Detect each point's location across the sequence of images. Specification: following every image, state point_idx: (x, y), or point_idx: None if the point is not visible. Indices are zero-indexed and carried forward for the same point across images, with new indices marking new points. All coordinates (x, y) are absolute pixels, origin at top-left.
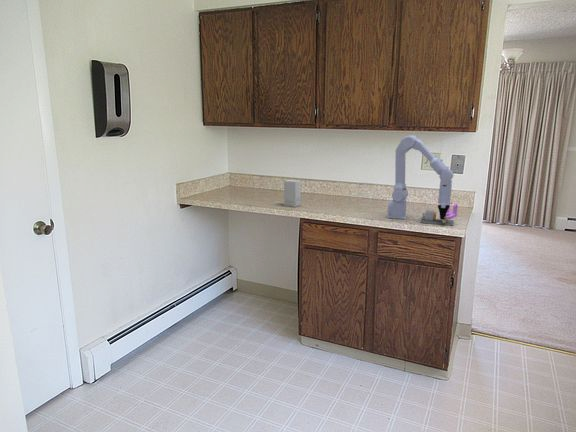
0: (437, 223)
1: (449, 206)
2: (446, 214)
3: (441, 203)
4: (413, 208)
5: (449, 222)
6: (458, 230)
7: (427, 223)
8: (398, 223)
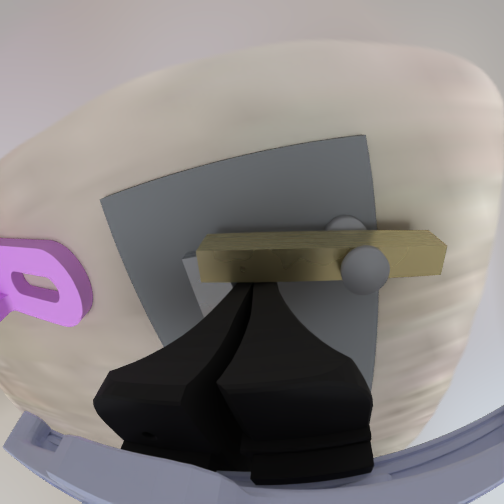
0: (364, 299)
1: (156, 388)
2: (26, 295)
3: (483, 494)
4: (60, 414)
5: (239, 204)
6: (489, 82)
7: (373, 357)
8: (411, 431)
